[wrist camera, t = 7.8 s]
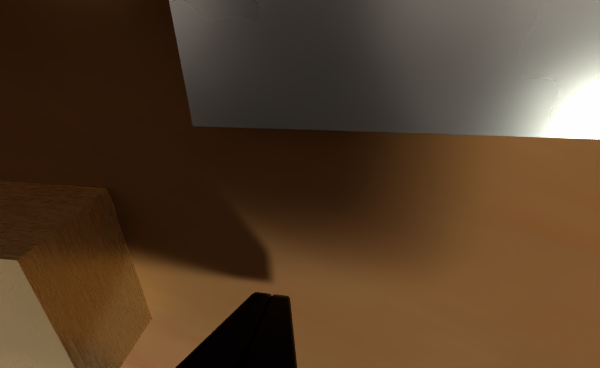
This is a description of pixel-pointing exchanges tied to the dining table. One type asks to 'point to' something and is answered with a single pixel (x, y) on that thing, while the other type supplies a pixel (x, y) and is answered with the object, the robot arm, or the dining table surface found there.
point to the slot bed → (393, 65)
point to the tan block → (65, 279)
